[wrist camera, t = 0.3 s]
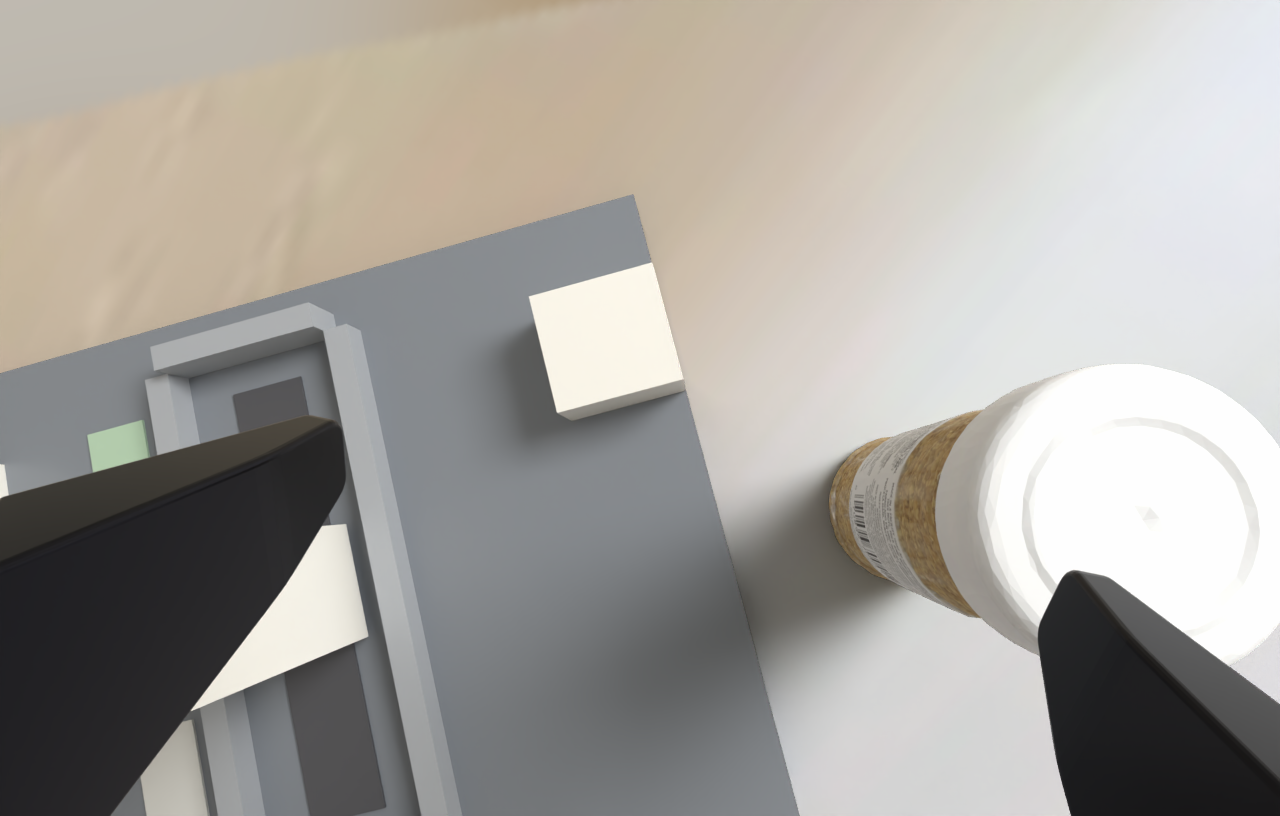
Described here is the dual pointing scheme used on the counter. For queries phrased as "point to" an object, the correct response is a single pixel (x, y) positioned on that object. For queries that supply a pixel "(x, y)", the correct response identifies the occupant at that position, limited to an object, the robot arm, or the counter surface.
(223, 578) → the robot arm
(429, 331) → the panel
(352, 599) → the handle
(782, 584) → the counter surface
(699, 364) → the counter surface
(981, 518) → the sprinkles bottle
